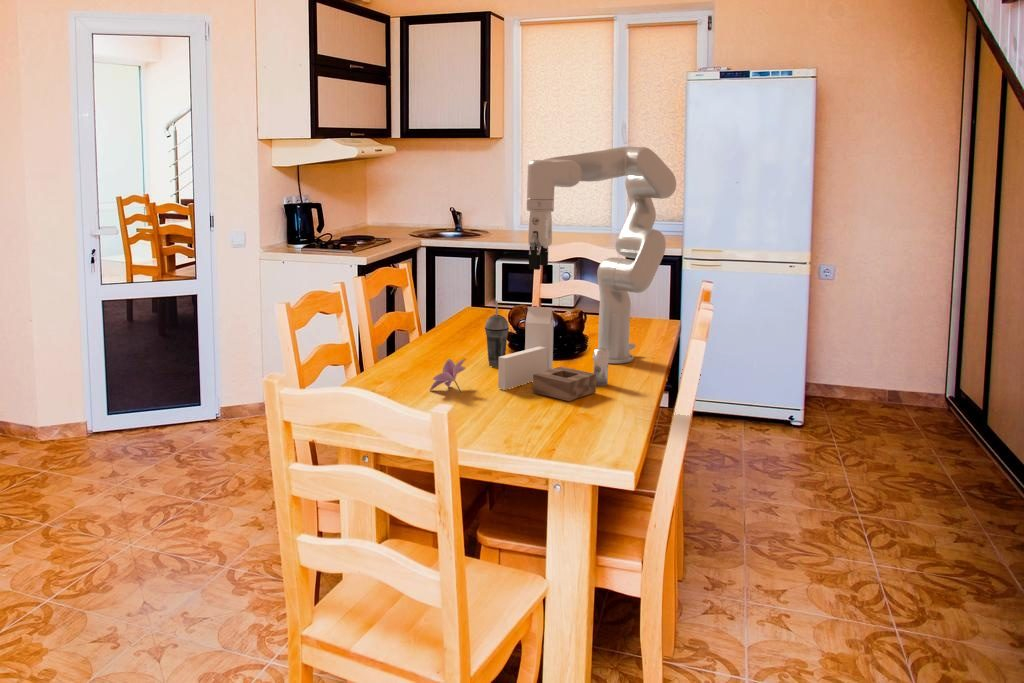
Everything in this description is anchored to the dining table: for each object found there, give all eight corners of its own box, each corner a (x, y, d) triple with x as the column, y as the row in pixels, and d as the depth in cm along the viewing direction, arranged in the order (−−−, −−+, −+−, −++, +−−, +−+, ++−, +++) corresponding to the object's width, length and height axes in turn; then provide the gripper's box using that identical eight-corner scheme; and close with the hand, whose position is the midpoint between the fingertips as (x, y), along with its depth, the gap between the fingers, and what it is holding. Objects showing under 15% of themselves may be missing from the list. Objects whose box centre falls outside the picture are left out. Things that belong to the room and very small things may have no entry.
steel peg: (598, 381, 252) (599, 347, 249) (610, 384, 249) (611, 349, 247) (590, 384, 249) (591, 349, 246) (602, 387, 246) (603, 352, 244)
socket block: (560, 383, 248) (560, 366, 247) (595, 391, 240) (596, 373, 239) (532, 392, 239) (533, 374, 238) (568, 401, 231) (569, 382, 230)
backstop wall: (539, 376, 256) (540, 346, 254) (546, 378, 255) (546, 347, 253) (498, 389, 243) (498, 356, 241) (504, 390, 241) (505, 358, 239)
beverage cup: (509, 363, 271) (510, 298, 267) (507, 369, 264) (508, 302, 260) (486, 362, 272) (486, 297, 267) (482, 368, 265) (483, 301, 260)
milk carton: (548, 374, 259) (550, 310, 254) (524, 373, 260) (525, 308, 256) (552, 368, 265) (554, 305, 261) (528, 367, 267) (530, 304, 263)
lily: (472, 389, 247) (458, 357, 247) (484, 383, 236) (468, 350, 236) (434, 406, 243) (419, 374, 243) (443, 401, 232) (428, 367, 232)
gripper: (546, 208, 238) (544, 271, 241) (559, 204, 254) (557, 264, 258) (519, 206, 240) (517, 270, 243) (534, 203, 256) (532, 262, 260)
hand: (538, 267), depth 250 cm, fingers open, 9 cm apart
